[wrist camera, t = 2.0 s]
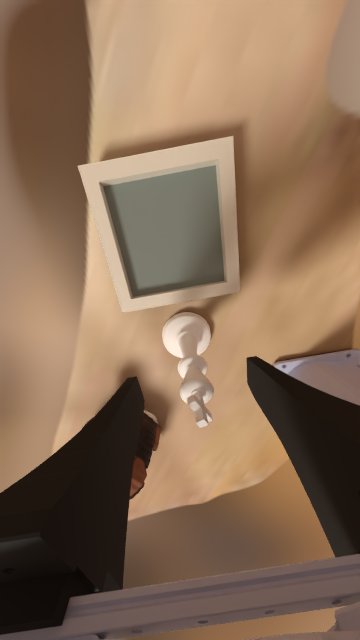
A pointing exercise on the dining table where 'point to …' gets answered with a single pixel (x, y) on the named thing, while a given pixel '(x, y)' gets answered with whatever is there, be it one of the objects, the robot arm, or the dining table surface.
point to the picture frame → (168, 223)
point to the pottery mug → (143, 452)
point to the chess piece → (191, 360)
